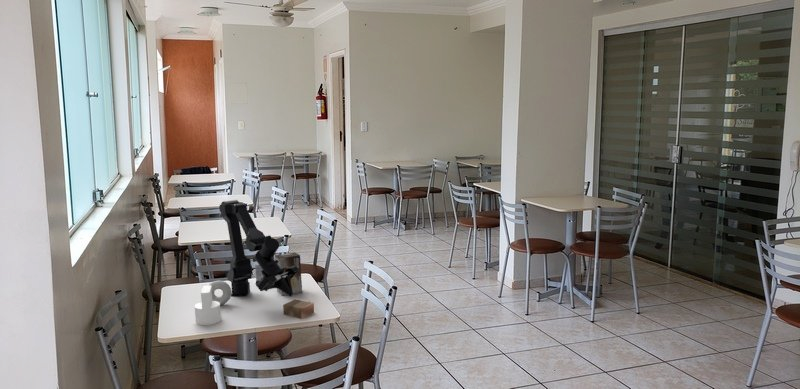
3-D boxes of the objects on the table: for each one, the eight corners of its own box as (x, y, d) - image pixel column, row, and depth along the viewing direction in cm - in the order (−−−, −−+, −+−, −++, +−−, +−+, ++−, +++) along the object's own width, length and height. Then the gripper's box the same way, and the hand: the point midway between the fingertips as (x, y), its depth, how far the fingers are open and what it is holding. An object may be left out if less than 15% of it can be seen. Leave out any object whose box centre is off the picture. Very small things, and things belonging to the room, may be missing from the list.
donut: (232, 302, 247) (231, 278, 246) (232, 305, 244) (230, 281, 243) (206, 304, 246) (205, 280, 244) (205, 307, 242) (204, 282, 241)
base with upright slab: (220, 323, 225) (218, 291, 223) (194, 325, 223) (192, 293, 221) (221, 315, 233) (219, 284, 231) (196, 317, 231) (194, 286, 230)
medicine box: (265, 284, 272) (264, 265, 270) (255, 283, 272) (254, 264, 271) (272, 278, 279) (271, 260, 278) (263, 278, 280) (262, 259, 279)
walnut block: (283, 304, 232) (302, 308, 228) (294, 299, 239) (313, 302, 234) (283, 314, 233) (302, 318, 229) (295, 309, 239) (314, 312, 235)
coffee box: (297, 288, 265) (295, 251, 262) (302, 292, 259) (301, 255, 257) (276, 291, 261) (274, 254, 258) (281, 295, 255) (279, 258, 253)
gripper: (273, 270, 249) (295, 300, 246) (240, 282, 233) (264, 315, 230) (287, 253, 244) (311, 284, 241) (255, 264, 228) (280, 297, 225)
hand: (291, 295), depth 234 cm, fingers closed
